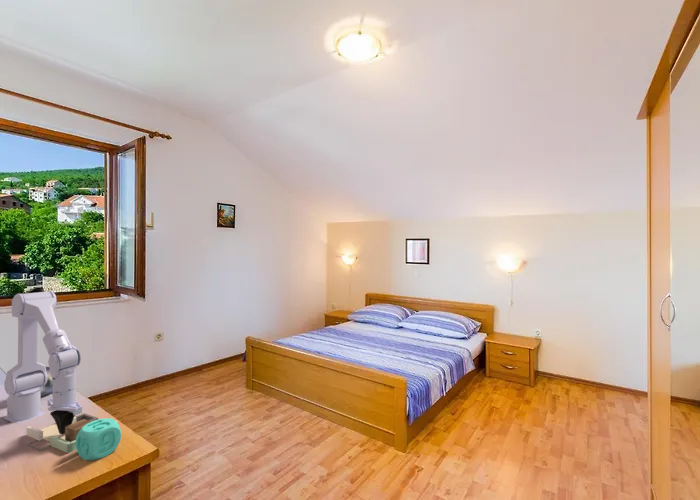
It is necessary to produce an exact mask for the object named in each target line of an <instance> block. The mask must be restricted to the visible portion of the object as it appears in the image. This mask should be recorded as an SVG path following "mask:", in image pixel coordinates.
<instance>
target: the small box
mask: <svg viewBox="0 0 700 500" xmlns="http://www.w3.org/2000/svg"><path fill="white" fill-rule="evenodd" d="M46 372H47V376H48V379H47V383H46V384H45V385H44V386H43V389H41V399H43V398H44V397H47V396H50V394H51V395H52V392H53V377H51V374H50V368H49V366H46Z"/></svg>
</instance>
